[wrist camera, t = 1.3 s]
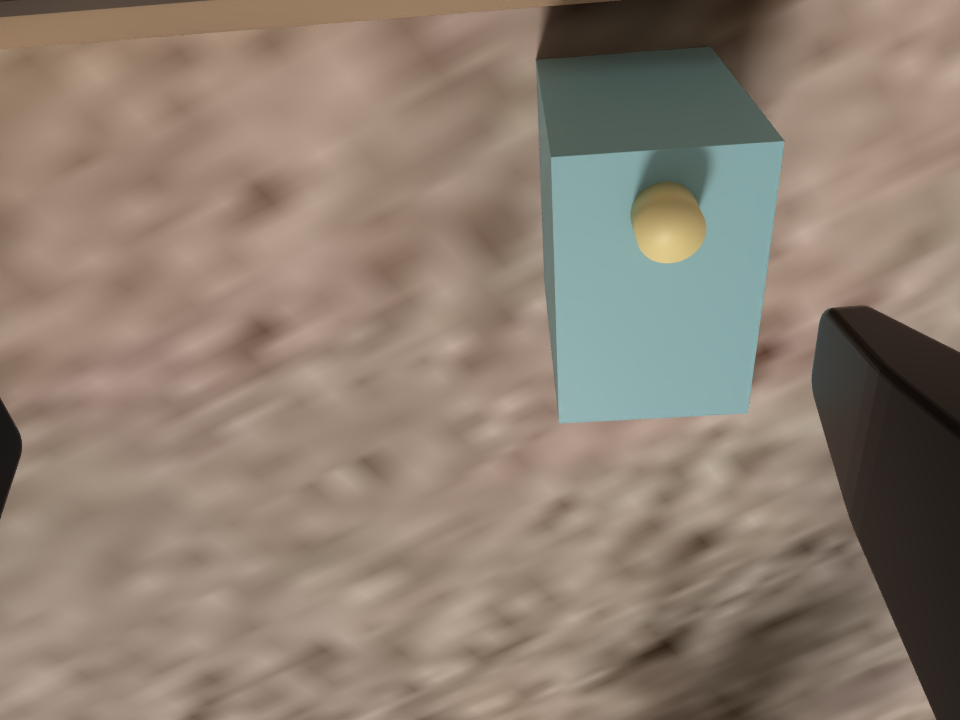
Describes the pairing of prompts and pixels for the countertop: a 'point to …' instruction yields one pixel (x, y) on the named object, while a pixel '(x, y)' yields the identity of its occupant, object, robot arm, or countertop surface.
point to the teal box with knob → (653, 232)
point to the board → (208, 16)
